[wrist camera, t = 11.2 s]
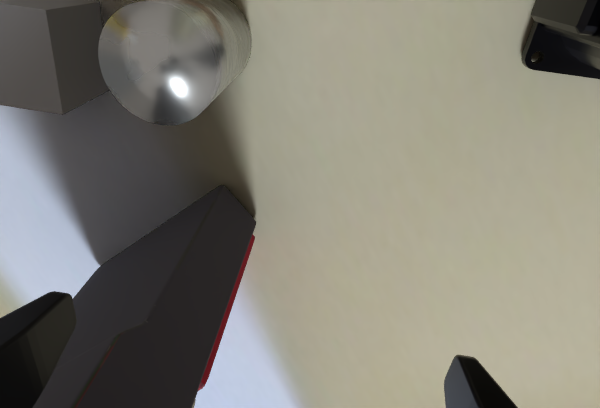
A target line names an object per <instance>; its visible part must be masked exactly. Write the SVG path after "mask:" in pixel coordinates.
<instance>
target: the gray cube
mask: <svg viewBox="0 0 600 408" xmlns="http://www.w3.org/2000/svg"><path fill="white" fill-rule="evenodd" d="M102 30H103V29H102V19H101V9H100V2H97V1H90V0H0V105H4V106H11V107H17V108H23V109H30V110H36V111H43V112H49V113H56V114H62V115H63V114H65V113H67V112H69V111H71V110H73V109H75V108H76V107H78V106H80V105H82V104H84V103H86V102H88V101H90V100H92V99H93V98H95V97H97V96H99V95H101V94H103V93H105V92H107V91H109V88H108V86H107V84H106V82H105V80H104V78H103V75H102V72H101V69H100V64H99V58H98V46H99V39H100V35H101V32H102Z"/></svg>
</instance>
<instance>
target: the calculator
mask: <svg viewBox="0 0 600 408" xmlns="http://www.w3.org/2000/svg"><path fill="white" fill-rule="evenodd" d="M255 225H256V221H255V220H254V219H253V217H252V216H251V215H250V214H249V213H248V212H247V211H246V209H245V208H244V207H243V206H242V205H241V204H240V203H239V201H238V200H237V199H236V198H235V197H234V196H233V195H232V194H231V192H230V191H229V190H228V189H227V188H226V187H225V186H224V185H220V186H218V187H217V188H215V189H214V190H212V191H211V192H209V193H208V194H206V195H205V196H203V197H202V198H200V199H199V200H198V201H196V202H195V203H193V204H192V205H190V206H189V207H187V208H186V209H184V210H183V211H181V212H180V213H178V214H177V215H175V216H174V217H172V218H171V219H169V220H168V221H167V222H165V223H164V224H162V225H161V226H159V227H158V228H156V229H155V230H153V231H152V232H150V233H149V234H147V235H146V236H144V237H143V238H141V239H140V240H138V241H137V242H136V243H134V244H133V245H131V246H130V247H128V248H127V249H125V250H124V251H122V252H121V253H119V254H118V255H116V256H115V257H113V258H112V259H110V260H109V261H108V262H106V263H105V264H103V265H102V266H100V267H99V268H98V269H97V270H96V271H95V273H94V274H93V275H92V276H91V277H90V279H89V280H88V281H87V282H86V284H85V285H84V286H83V287H82V288H81V290H80V291H79V292H78V293H77V294H76V296H75V297H74V298H73V304H74V309H75V313H76V319H77V320H76V326H75V329H74V331H73V333H72V335H71V337H70V339H69V341H68V343H67V345H66V347H65V349H64V351H63V353H62V355H61V357H60V359H59V361H58V363H57V365H56V367H55V369H54V371H53V373H52V375H51V377H50V379H49V381H48V383H47V384H46V386H45V388H44V390H43V392H42V393H41V395H40V397H39V398H38V400H37V402H36V403H35V405H34V406H33V408H194V405H195V397H196V395H197V392H198V391H199V390H200V389H202V388H203V387H204V386H205V384H206V382H207V379H208V377H209V374H210V371H211V368H212V365H213V362H214V359H215V356H216V353H217V350H218V347H219V344H220V341H221V338H222V335H223V332H224V329H225V326H226V323H227V320H228V317H229V314H230V312H231V309H232V306H233V303H234V300H235V297H236V294H237V291H238V288H239V285H240V282H241V279H242V276H243V273H244V270H245V267H246V264H247V261H248V258H249V255H250V252H251V249H252V246H253V243H254V239H255V236H254V235H253V231H254V228H255Z"/></svg>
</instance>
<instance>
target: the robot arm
mask: <svg viewBox="0 0 600 408" xmlns="http://www.w3.org/2000/svg"><path fill="white" fill-rule="evenodd" d="M531 15H532V17H533V20H534V24H533V26H532V29H531V32H530V34H529V37H528V40H527V43H526V45H525V48H524V51H523V53H522V63H523V64H524V65H525V66H526V67H528V68H530V69H532V70H539V71H546V72H553V73H560V74H568V75H575V76H582V77H589V78H597V79H600V0H536V1H535V4H534V7H533V10H532V13H531ZM537 51H539V52H540V57H539V59H538V60H537V61H535V62H532V61H531V57H532V55H533V54H534V53H535V52H537ZM76 320H77V319H76V313H75V309H74V304H73V299H72V296H71V295H70V294H68V293H62V292H55V291H54V292H49V293H47V294H45V295H43V296H41V297H40V298H38V299H36V300H34V301H32V302H30V303H28V304H26V305H24V306H22V307H20V308H19V309H17V310H15V311H13V312H11V313H9V314H7V315H5V316H3V317H1V318H0V408H33V406H34V405H35V403H36V402H37V400H38V398H39V397H40V395H41V393H42V392H43V390H44V388H45V386H46V384H47V383H48V381H49V379H50V377H51V375H52V373H53V371H54V369H55V367H56V365H57V363H58V361H59V359H60V357H61V355H62V353H63V351H64V349H65V347H66V345H67V343H68V341H69V339H70V337H71V335H72V333H73V331H74V329H75V326H76ZM444 391H445V403H446V408H518V407H517V406H516V405H515V404H514V403H513V401H512V400H511V399H510V398H509V397H508V396H507V394H506V393H505V392H504V391H503V390H502V389H501V387H500V386H499V385H498V384H497V383H496V381H495V380H494V379H493V378H492V377H491V376H490V374H489V373H488V372H487V371H486V370H485V369H484V367H483V366H482V365H481V364H480V363H479V361H478V360H477V359H475V358H474V357H470V356H464V355H456V356H455V357H454V359H453V361H452V363H451V366H450V368H449V370H448V372H447V375H446V377H445V381H444Z"/></svg>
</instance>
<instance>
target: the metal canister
mask: <svg viewBox="0 0 600 408" xmlns="http://www.w3.org/2000/svg"><path fill="white" fill-rule="evenodd" d="M251 47H252V39H251V33H250V29H249V26H248V23H247V21H246V19H245V17H244V15H243V14H242V12H241V11H240V10H239V8H238V7H237V6H236V5H235V4H234V3H233V2H231V1H230V0H146V1H140V2H135V3H131V4H128V5H126V6H124V7H122V8H120V9H119V10H117V11H116V12H115V13H114V14H113V15H112V16H111V17H110V18H109V19H108V21H107V22H106V24H105V26H104V27H103V30H102V32H101V35H100V39H99V46H98V58H99V64H100V69H101V72H102V75H103V78H104V80H105V82H106V84H107V86H108V88H109V90H110V91H111V93H112V94H113V96H114V97H115V98H116V99H117V100H118V102H119V103H120V104H121V105H122V106H123V107H124V108H126V109H127V110H128V111H129V112H131V113H132V114H134V115H135V116H137V117H139V118H141V119H143V120H145V121H147V122H150V123H153V124H158V125H167V126H168V125H178V124H182V123H185V122H188V121H190V120H192V119H194V118H195V117H197V116H198V115H199V114H200V113H201V112H202V111H203V110H204V109H205V108H206V107H207V106H208V105H209V104H210V103H211V102H212V101H213V100H214V99H215V98H216V97H217V96H218V95H219V94H220V93H221V92H222V91H223V90H224V89H225V88H226V87H227V86H228V85H229V84H230V83H231V82H232V81H233V80H234V79H235V78H236V77H237V76H238V75H239V74H240V73H241V72H242V71H243V69H244V68H245V66H246V65H247V63H248V60H249V58H250V54H251Z"/></svg>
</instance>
